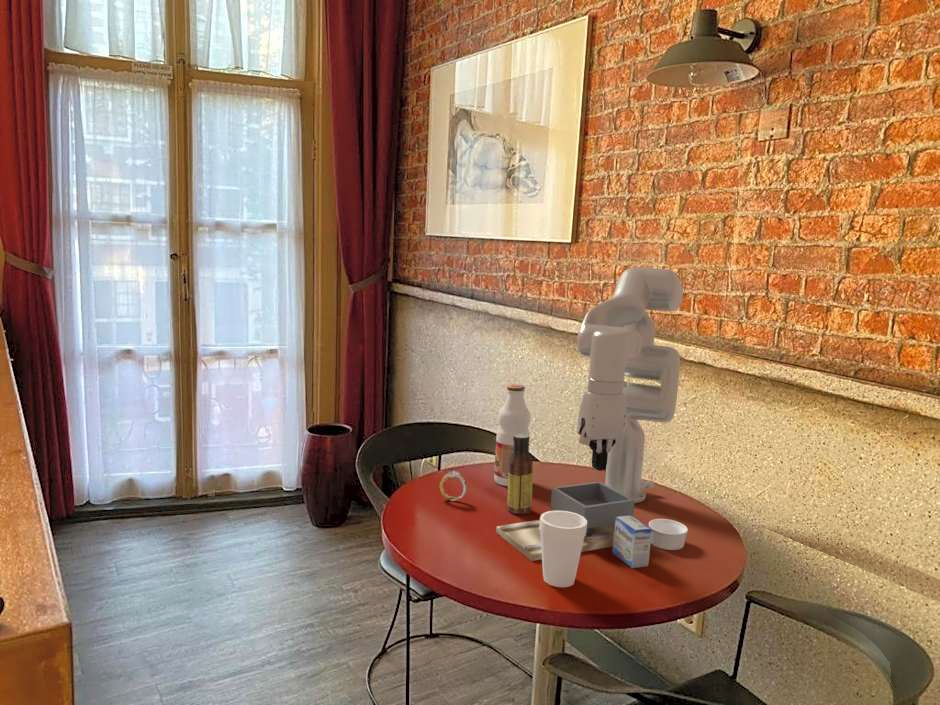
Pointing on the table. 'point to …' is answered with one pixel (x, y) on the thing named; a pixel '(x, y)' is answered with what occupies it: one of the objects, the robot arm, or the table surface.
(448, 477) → the bracelet
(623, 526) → the medicine box
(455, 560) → the table surface
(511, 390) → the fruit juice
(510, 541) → the track board
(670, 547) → the ramekin
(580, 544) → the foam cup
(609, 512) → the grey storage bin
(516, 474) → the sauce bottle
